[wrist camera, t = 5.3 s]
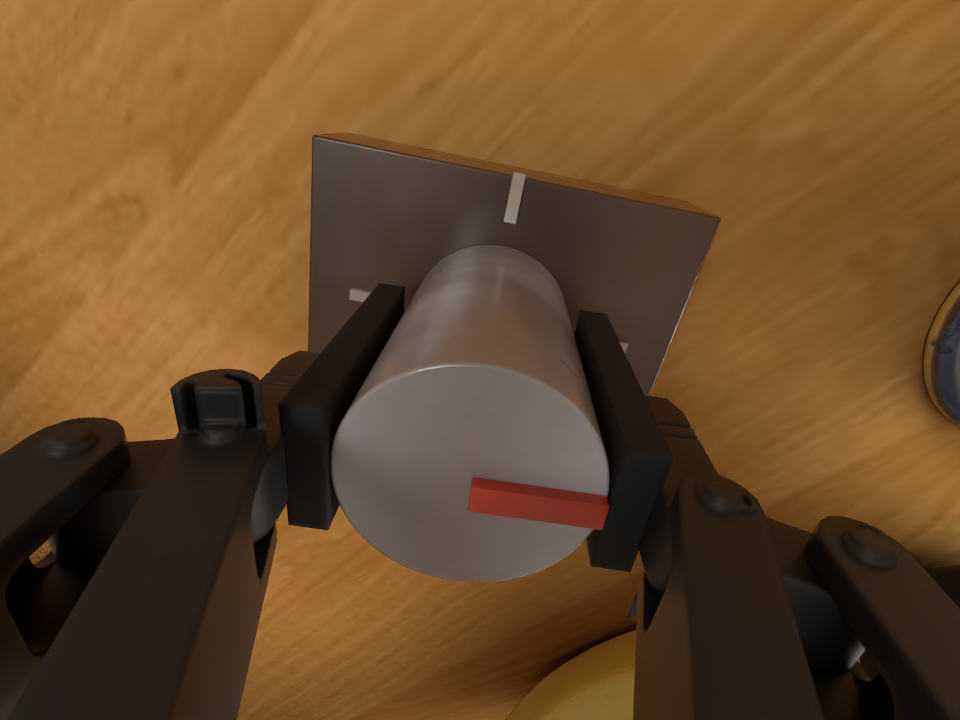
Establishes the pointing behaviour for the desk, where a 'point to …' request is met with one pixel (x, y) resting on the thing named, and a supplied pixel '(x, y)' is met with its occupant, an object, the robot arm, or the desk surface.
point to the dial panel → (498, 237)
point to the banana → (586, 686)
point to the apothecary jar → (945, 358)
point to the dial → (476, 427)
